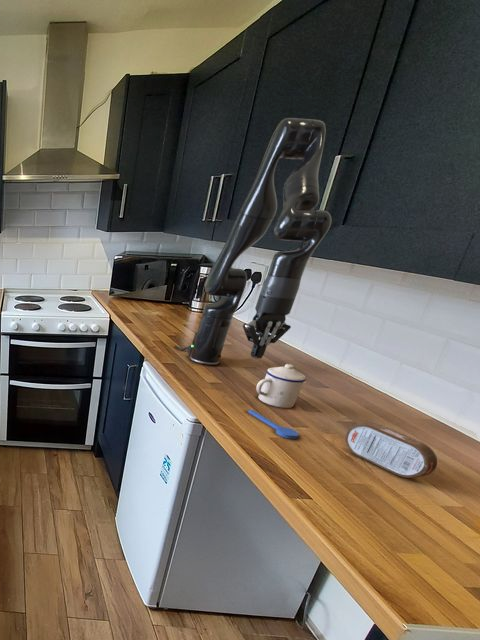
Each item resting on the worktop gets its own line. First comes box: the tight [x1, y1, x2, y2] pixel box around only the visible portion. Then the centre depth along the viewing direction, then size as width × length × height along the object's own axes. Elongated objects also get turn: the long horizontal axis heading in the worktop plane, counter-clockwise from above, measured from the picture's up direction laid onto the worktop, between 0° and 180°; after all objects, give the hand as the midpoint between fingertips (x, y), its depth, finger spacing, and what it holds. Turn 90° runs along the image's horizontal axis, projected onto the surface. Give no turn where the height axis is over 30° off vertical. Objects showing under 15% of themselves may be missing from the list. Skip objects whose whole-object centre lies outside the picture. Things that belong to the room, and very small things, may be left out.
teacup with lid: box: [256, 363, 307, 409], centre depth 115 cm, size 12×9×12 cm
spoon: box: [247, 409, 299, 440], centre depth 104 cm, size 14×4×1 cm, turn 9°
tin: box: [345, 421, 438, 479], centre depth 87 cm, size 15×3×8 cm, turn 17°
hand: (255, 357), depth 110 cm, fingers closed
